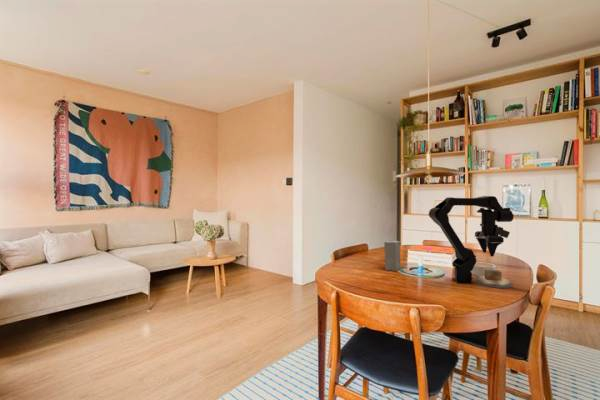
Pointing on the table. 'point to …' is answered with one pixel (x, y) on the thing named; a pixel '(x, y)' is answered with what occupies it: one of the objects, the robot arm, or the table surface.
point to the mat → (493, 285)
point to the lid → (493, 278)
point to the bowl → (482, 268)
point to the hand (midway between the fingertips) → (488, 254)
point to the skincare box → (392, 255)
